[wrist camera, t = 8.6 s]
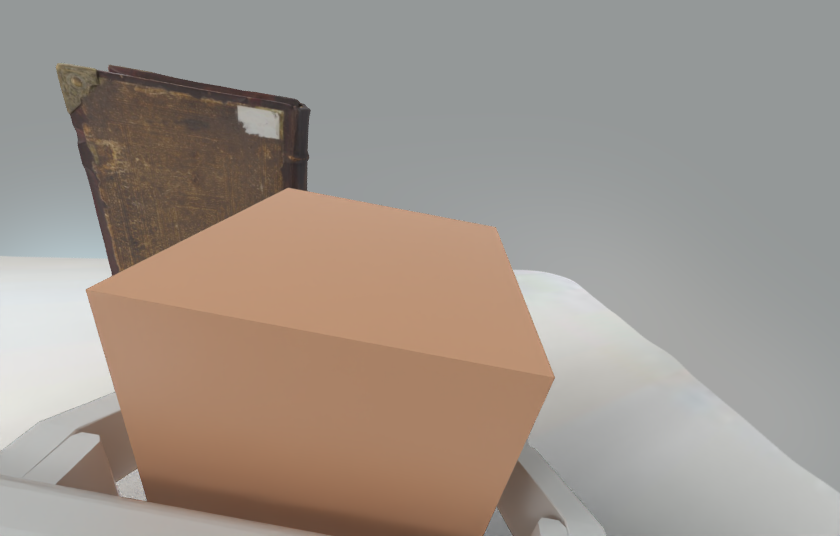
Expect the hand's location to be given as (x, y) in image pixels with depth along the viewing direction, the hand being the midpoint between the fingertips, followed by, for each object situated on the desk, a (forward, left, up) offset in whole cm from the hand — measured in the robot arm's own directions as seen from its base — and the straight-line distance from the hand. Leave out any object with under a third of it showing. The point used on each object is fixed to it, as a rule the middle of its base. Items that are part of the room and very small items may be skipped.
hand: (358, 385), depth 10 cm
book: (-19, +22, -19) cm, 34 cm away
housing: (0, -1, -6) cm, 6 cm away
